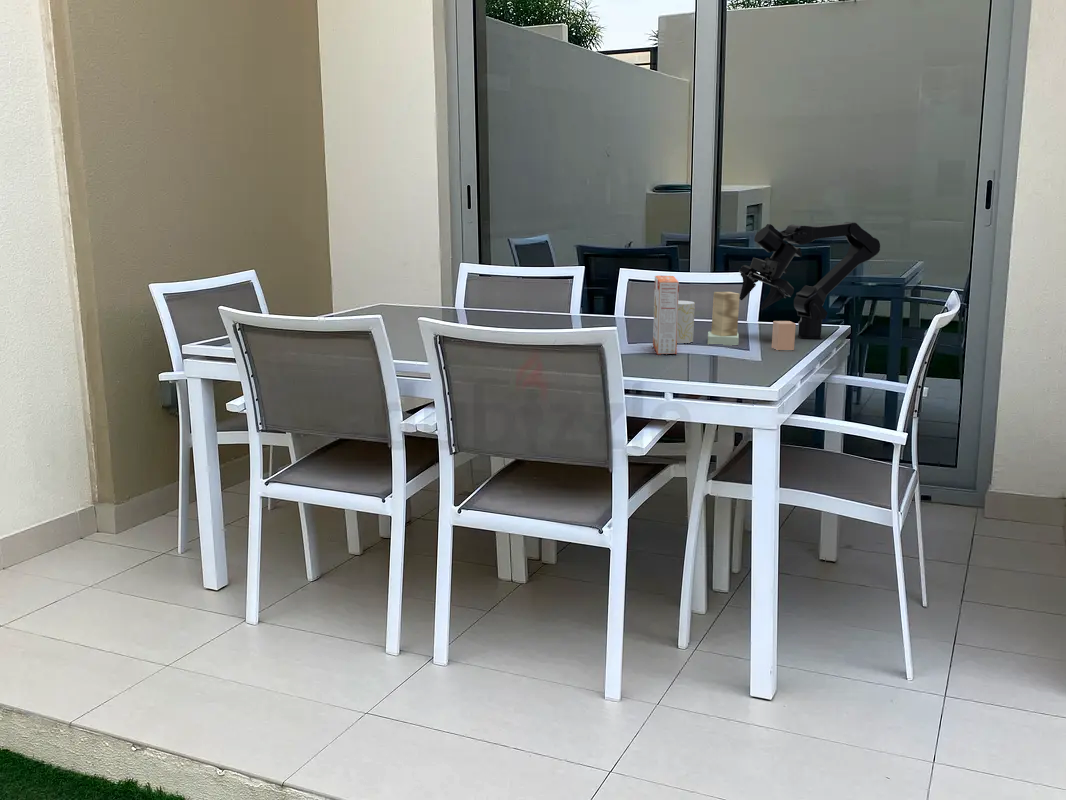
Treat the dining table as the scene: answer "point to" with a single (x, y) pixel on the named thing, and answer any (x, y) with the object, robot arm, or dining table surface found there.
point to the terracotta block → (783, 335)
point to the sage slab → (723, 339)
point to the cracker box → (665, 314)
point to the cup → (685, 321)
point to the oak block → (725, 313)
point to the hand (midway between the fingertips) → (751, 304)
